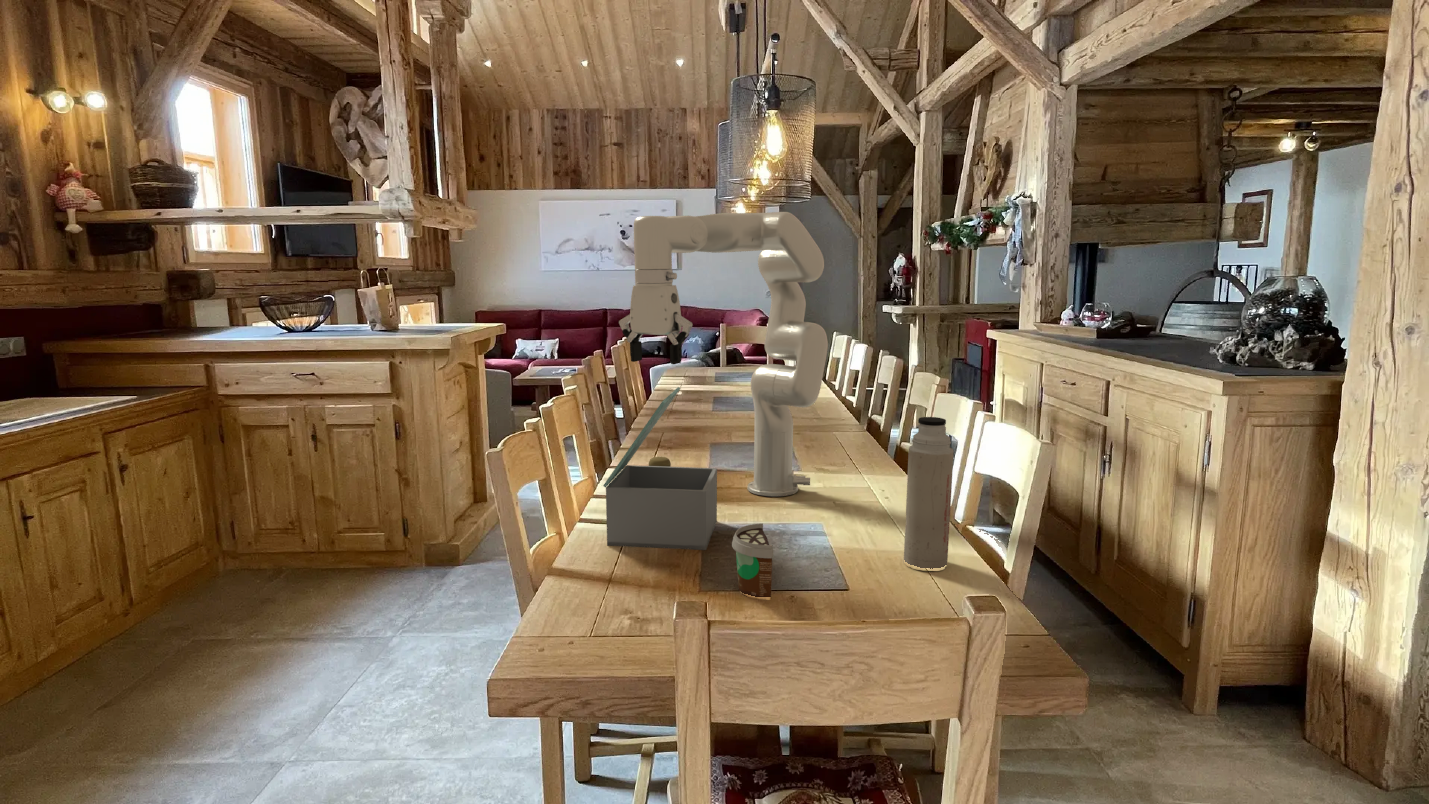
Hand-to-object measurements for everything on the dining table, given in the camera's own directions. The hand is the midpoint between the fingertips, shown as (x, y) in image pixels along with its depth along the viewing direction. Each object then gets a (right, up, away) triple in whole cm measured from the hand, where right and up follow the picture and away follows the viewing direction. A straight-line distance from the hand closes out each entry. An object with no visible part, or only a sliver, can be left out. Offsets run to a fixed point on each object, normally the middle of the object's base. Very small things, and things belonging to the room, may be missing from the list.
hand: (655, 362), depth 163 cm
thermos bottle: (+52, -39, -14) cm, 66 cm away
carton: (+2, -36, +3) cm, 36 cm away
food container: (+18, -41, -26) cm, 52 cm away
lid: (-2, -15, 0) cm, 15 cm away
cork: (-1, -32, +24) cm, 40 cm away
